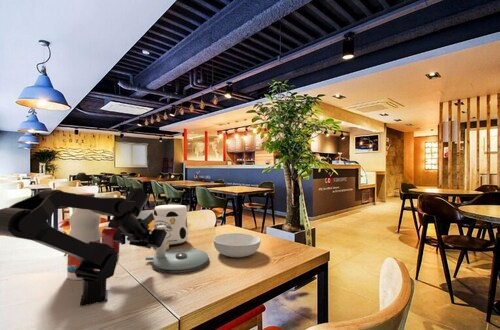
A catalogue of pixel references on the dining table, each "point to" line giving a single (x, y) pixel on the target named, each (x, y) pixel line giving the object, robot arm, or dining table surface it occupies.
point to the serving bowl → (236, 244)
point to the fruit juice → (83, 233)
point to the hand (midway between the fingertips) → (150, 247)
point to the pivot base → (179, 255)
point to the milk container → (172, 222)
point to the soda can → (109, 238)
